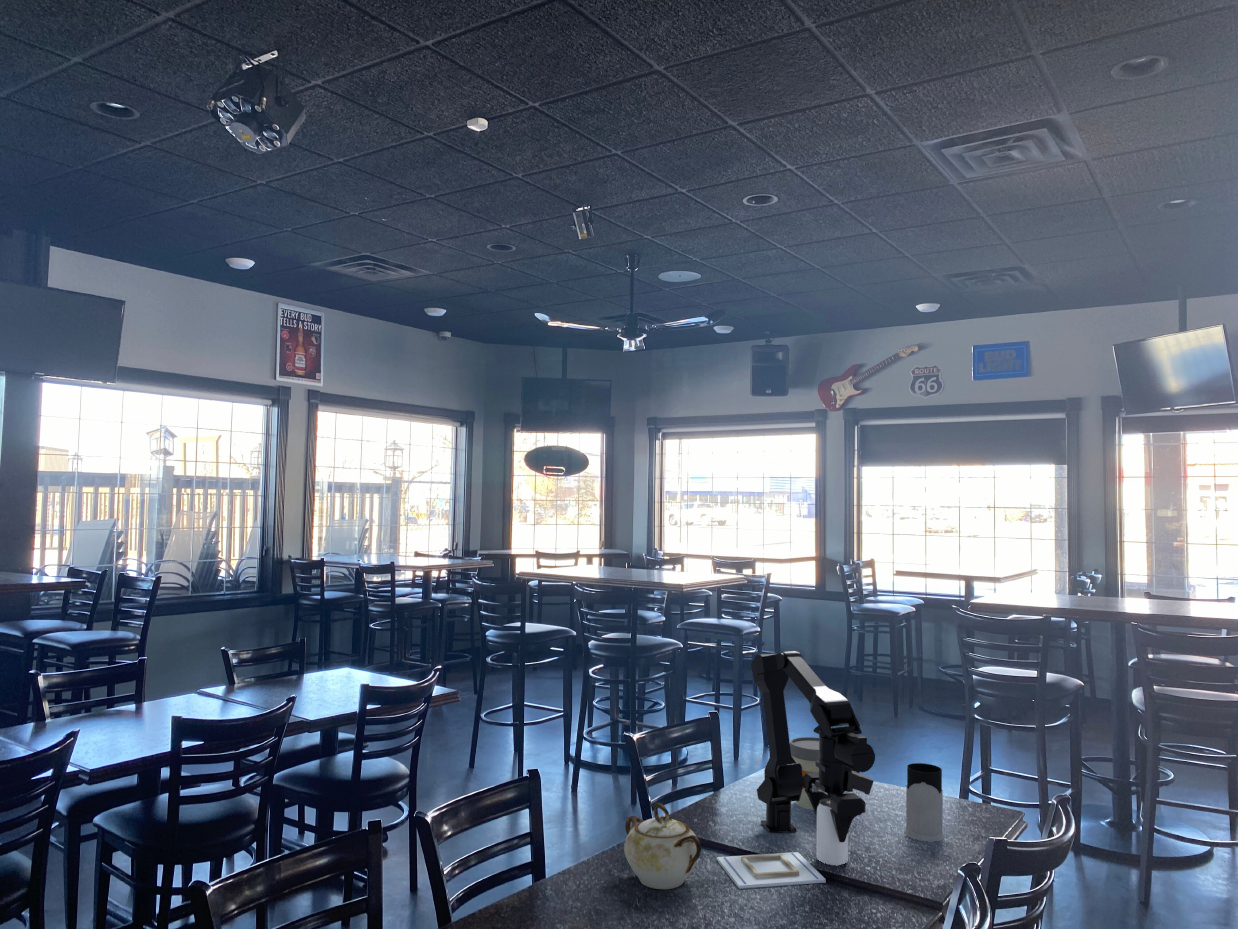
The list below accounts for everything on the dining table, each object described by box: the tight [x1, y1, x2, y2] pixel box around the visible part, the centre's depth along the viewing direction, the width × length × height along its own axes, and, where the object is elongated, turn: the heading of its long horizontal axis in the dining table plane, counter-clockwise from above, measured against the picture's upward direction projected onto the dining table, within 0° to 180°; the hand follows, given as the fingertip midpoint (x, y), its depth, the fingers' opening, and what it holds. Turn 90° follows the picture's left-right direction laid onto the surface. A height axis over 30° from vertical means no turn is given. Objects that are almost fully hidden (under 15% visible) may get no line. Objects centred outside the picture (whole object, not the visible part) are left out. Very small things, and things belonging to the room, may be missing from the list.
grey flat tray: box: [716, 851, 826, 890], centre depth 183 cm, size 14×18×1 cm
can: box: [815, 798, 849, 865], centre depth 189 cm, size 6×6×12 cm
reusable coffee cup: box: [790, 736, 819, 811], centre depth 224 cm, size 13×13×15 cm
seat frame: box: [741, 854, 799, 879], centre depth 183 cm, size 9×9×1 cm
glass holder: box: [903, 762, 945, 843], centre depth 207 cm, size 9×14×15 cm, turn 158°
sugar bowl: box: [623, 802, 702, 890], centre depth 177 cm, size 20×15×15 cm
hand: (832, 833), depth 189 cm, fingers open, 9 cm apart
